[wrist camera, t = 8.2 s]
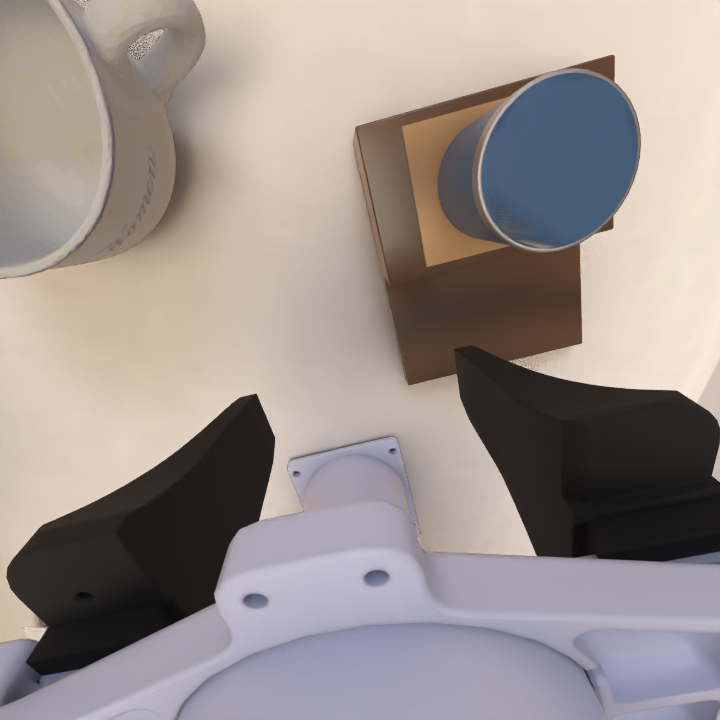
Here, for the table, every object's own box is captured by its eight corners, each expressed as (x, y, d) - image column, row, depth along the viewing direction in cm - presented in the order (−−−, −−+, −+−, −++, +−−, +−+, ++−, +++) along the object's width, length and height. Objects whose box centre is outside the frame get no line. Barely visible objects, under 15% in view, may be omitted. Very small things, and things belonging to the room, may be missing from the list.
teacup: (49, 276, 21) (-106, 311, 14) (-78, 47, 17) (-389, -74, 10) (283, 213, 21) (251, 215, 13) (207, -40, 17) (101, -238, 9)
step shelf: (571, 337, 24) (615, 361, 20) (405, 377, 25) (416, 409, 21) (562, 83, 19) (619, 51, 15) (352, 142, 20) (354, 125, 16)
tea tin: (553, 224, 18) (639, 230, 12) (445, 252, 18) (487, 269, 13) (546, 98, 16) (645, 44, 11) (427, 131, 16) (466, 94, 11)
